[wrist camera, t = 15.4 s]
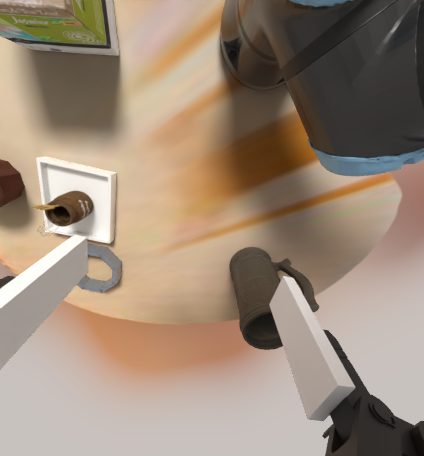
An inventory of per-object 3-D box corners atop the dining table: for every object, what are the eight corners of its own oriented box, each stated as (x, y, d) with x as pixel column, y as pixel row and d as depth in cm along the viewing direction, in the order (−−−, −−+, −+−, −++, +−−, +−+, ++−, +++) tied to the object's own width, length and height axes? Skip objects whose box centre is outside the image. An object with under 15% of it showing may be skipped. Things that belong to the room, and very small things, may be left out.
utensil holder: (66, 211, 44) (18, 236, 33) (67, 184, 42) (16, 201, 31) (93, 219, 45) (55, 246, 34) (96, 193, 43) (56, 213, 32)
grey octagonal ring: (72, 240, 49) (64, 246, 46) (122, 250, 50) (117, 257, 47) (74, 278, 54) (67, 286, 51) (120, 286, 55) (115, 294, 52)
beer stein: (240, 288, 55) (261, 361, 37) (219, 261, 51) (230, 328, 33) (290, 259, 52) (340, 323, 34) (271, 229, 48) (315, 282, 30)
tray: (46, 156, 40) (36, 157, 38) (116, 172, 42) (111, 175, 39) (53, 226, 47) (45, 231, 45) (114, 238, 48) (109, 243, 46)
